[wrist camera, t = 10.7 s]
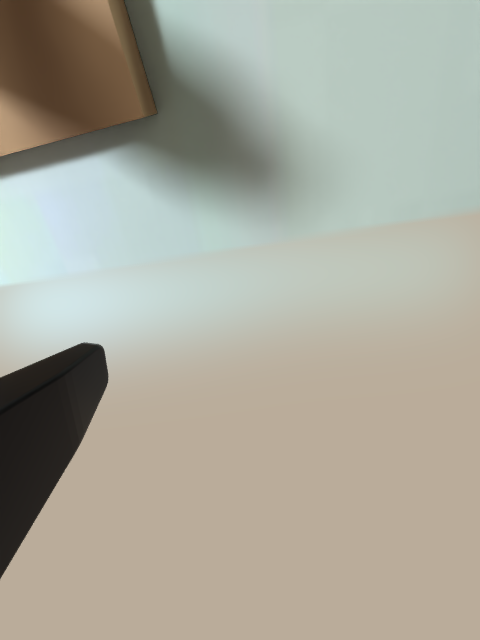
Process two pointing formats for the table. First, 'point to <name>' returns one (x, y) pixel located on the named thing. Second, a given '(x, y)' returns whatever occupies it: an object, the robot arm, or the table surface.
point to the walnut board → (67, 71)
